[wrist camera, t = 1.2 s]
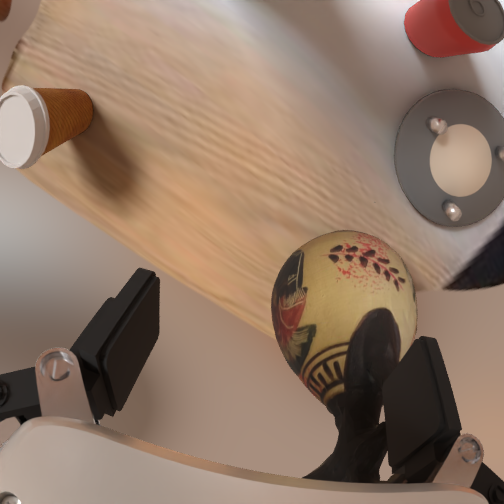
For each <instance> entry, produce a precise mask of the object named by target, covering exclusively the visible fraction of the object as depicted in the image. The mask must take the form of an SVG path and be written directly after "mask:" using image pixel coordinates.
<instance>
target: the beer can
mask: <svg viewBox="0 0 504 504" xmlns="http://www.w3.org/2000/svg"><path fill="white" fill-rule="evenodd" d="M404 25H405V30H406V33H407V35H408V37H409V39H410V41H411V42H412V43H413V44H414V46H415V47H416V48H417V49H419V50H420V51H421V52H423V53H424V54H427V55H429V56H432V57H440V58H441V57H448V56H455V55H462V54H470V53H478V52H483V51H488V50H489V49H491V48H492V47H493V46H495V45H496V44H497V43H499V42H500V41H501V40H503V38H504V10H503V8H502V6H501V4H500V2H499V1H498V0H420V1H419V2H417V3H416V4H415V5H413V6H412V7H410V8H409V10H408V11H407V13H406V15H405V20H404Z"/></svg>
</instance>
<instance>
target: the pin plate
mask: <svg viewBox="0 0 504 504" xmlns="http://www.w3.org/2000/svg"><path fill="white" fill-rule="evenodd" d="M430 116H433V117H437V118H440V119H443V120H444V121H446V123H447V126H448V128H447V131H446V133H444V134H442V135H441V134H437V133H435V132H433V131H431V130H429V129H428V128H427V127H426V119H427V118H428V117H430ZM499 145H500V146H503V147H504V118H503V117H502V115H501V114H500V113H499V111H498V110H497V109H496V108H495V107H494V106H493V105H492V104H491V103H489V102H488V101H487V100H486V99H484V98H482V97H481V96H479V95H477V94H474V93H471V92H468V91H463V90H450V89H449V90H441V91H437V92H434V93H431V94H429V95H427V96H425V97H424V98H422V99H421V100H419V101H418V102H417V103H416V104H415V105H414V106H413V107H412V108H411V109H410V110H409V112H408V113H407V115H406V116H405V118H404V119H403V121H402V123H401V126H400V128H399V131H398V134H397V137H396V143H395V152H394V159H395V168H396V174H397V177H398V180H399V183H400V185H401V188H402V190H403V192H404V193H405V195H406V197H407V198H408V199H409V201H410V202H411V203H412V204H413V206H414V207H415V208H416V209H417V210H418V211H419V212H420V213H421V214H422V215H424V216H425V217H426V218H428V219H429V220H431V221H433V222H435V223H438V224H441V225H445V226H453V227H458V226H466V225H470V224H473V223H476V222H478V221H480V220H482V219H483V218H485V217H486V216H488V215H489V214H490V213H491V212H492V211H494V210H495V209H496V207H497V206H498V205H499V204H500V203H501V201H502V200H503V198H504V161H502V160H500V159H498V158H497V157H496V156H495V148H496V147H497V146H499ZM445 200H451V201H452V202H453V203H454V204H455V205H456V206H457V207H458V208H459V209H460V210H461V212H462V215H461V218H460V219H459V220H458V221H452V220H451V219H450V218H449V217H448V216H447V215H446V213H445V212H444V211H443V210H442V203H443V202H444V201H445Z"/></svg>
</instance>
